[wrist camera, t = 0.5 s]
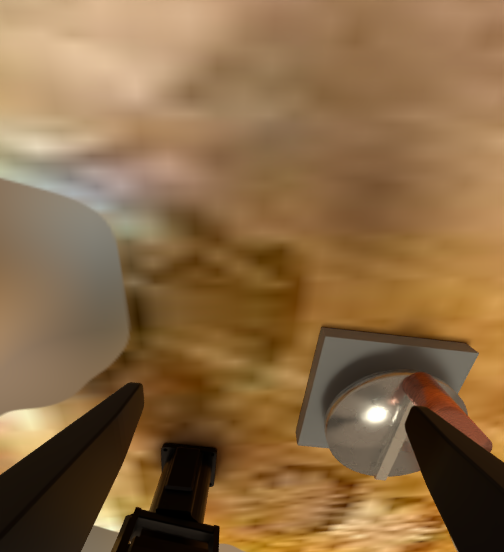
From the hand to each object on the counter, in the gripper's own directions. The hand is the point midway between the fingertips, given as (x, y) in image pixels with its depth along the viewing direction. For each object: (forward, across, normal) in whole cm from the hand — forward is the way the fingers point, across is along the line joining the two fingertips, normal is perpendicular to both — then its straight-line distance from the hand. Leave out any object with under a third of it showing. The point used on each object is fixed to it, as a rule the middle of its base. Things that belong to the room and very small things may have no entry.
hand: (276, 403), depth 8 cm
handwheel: (+12, -13, +12) cm, 22 cm away
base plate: (+14, -13, +12) cm, 23 cm away
